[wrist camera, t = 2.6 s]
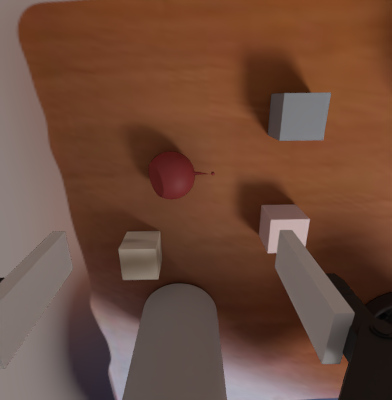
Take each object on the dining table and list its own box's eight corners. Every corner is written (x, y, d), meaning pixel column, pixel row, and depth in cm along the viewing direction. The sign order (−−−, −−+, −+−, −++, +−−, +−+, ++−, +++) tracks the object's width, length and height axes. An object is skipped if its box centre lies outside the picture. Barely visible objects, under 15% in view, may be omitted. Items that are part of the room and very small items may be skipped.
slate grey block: (305, 134, 34) (323, 140, 30) (267, 134, 34) (279, 140, 30) (311, 93, 32) (331, 92, 28) (271, 93, 32) (284, 93, 28)
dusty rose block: (291, 234, 40) (304, 252, 35) (258, 235, 40) (267, 253, 35) (295, 204, 38) (309, 219, 33) (261, 204, 38) (270, 219, 33)
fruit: (187, 185, 39) (218, 197, 32) (152, 197, 36) (178, 213, 30) (180, 144, 36) (211, 148, 30) (141, 154, 34) (167, 161, 27)
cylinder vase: (228, 293, 44) (268, 517, 20) (200, 344, 48) (207, 576, 25) (157, 271, 42) (113, 489, 19) (134, 325, 46) (76, 559, 23)
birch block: (162, 258, 41) (158, 279, 36) (130, 259, 41) (122, 280, 36) (160, 230, 39) (155, 248, 35) (127, 231, 39) (118, 249, 35)
